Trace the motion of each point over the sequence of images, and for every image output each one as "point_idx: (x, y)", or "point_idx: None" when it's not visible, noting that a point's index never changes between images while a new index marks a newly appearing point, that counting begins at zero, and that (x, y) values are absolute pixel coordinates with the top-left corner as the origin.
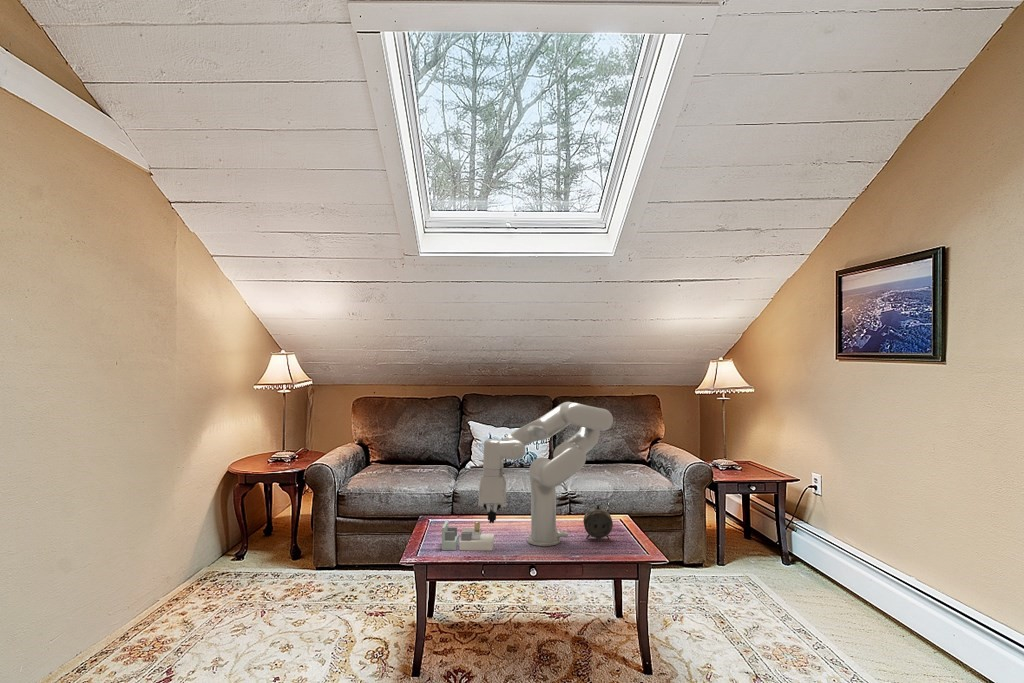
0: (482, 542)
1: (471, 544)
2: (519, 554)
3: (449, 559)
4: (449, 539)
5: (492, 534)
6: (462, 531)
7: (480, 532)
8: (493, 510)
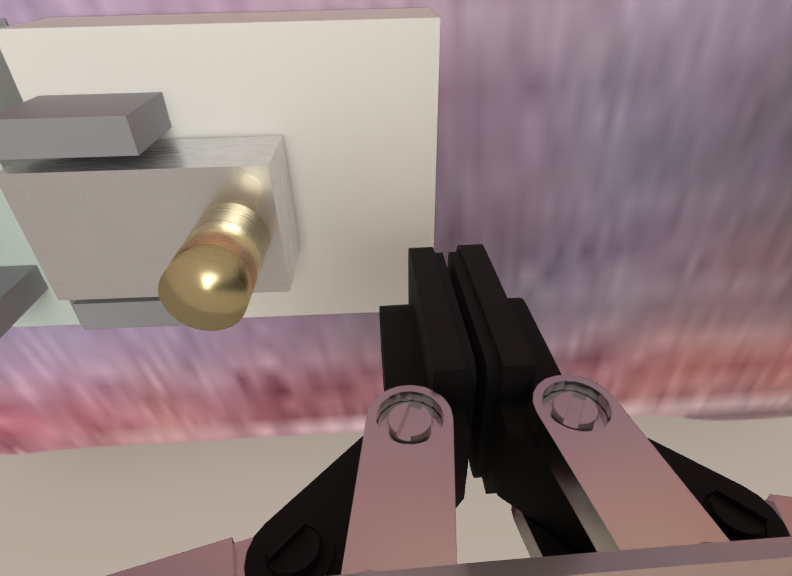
0: (341, 311)
1: None
2: (625, 330)
3: (165, 428)
4: None
5: (419, 47)
6: (61, 282)
7: (285, 238)
8: (516, 522)
